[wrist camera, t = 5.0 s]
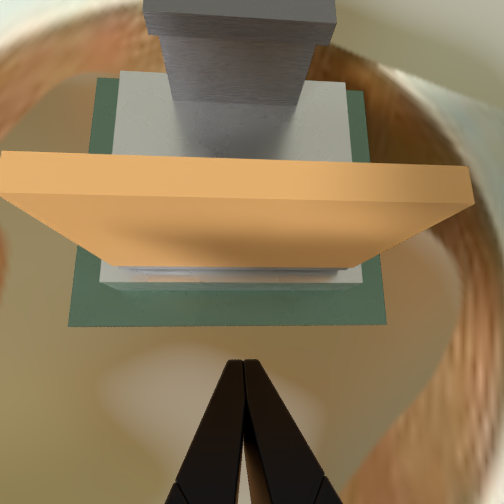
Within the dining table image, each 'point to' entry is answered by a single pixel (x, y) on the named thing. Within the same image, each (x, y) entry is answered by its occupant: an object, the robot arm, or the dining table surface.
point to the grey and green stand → (230, 146)
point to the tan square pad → (231, 207)
